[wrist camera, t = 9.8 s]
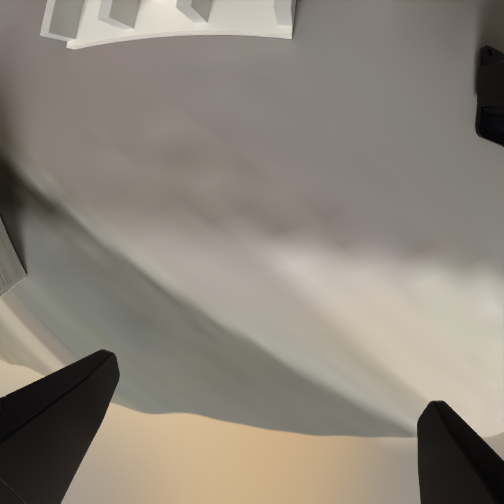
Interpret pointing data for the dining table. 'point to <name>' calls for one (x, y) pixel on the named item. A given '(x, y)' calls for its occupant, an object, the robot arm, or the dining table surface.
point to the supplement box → (8, 263)
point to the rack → (163, 19)
